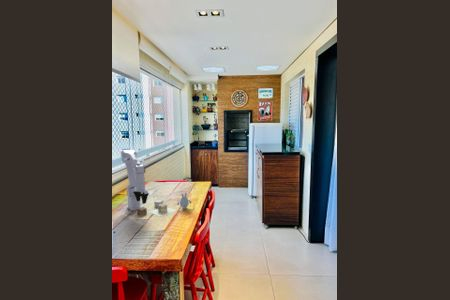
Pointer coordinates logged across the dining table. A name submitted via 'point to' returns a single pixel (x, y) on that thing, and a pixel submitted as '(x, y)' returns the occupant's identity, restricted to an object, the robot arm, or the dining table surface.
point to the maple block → (162, 208)
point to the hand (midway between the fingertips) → (141, 202)
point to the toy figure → (184, 202)
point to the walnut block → (142, 211)
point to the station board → (169, 210)
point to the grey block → (158, 203)
